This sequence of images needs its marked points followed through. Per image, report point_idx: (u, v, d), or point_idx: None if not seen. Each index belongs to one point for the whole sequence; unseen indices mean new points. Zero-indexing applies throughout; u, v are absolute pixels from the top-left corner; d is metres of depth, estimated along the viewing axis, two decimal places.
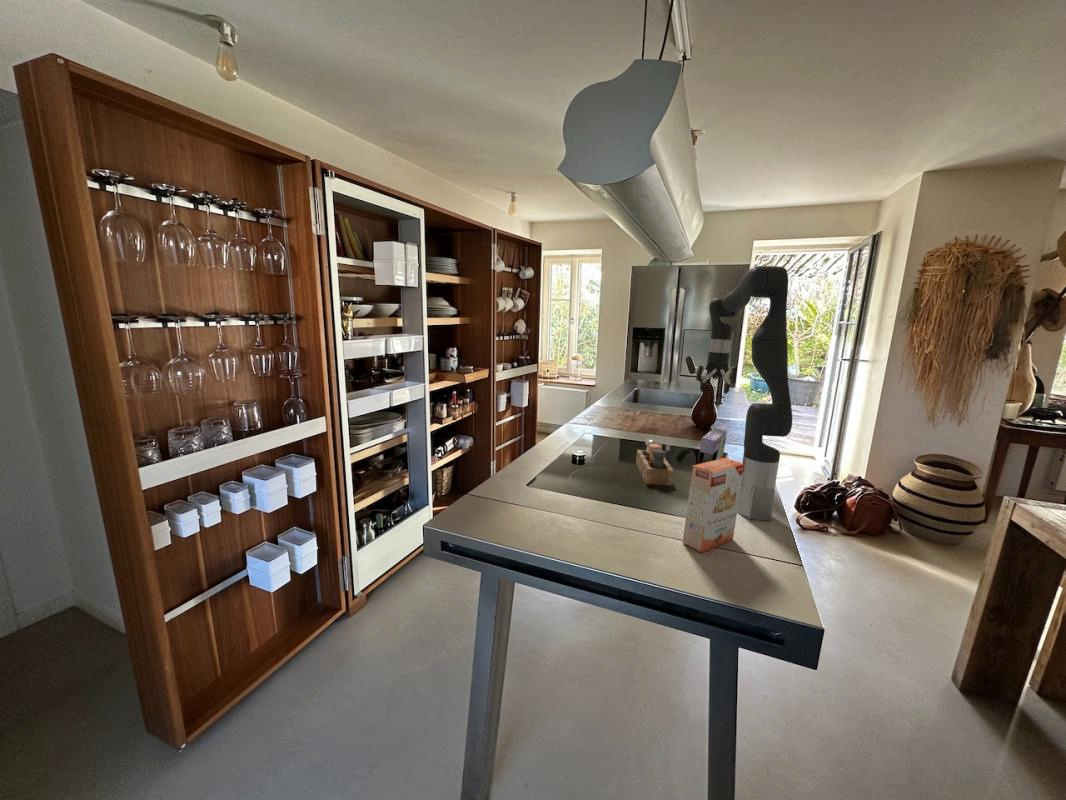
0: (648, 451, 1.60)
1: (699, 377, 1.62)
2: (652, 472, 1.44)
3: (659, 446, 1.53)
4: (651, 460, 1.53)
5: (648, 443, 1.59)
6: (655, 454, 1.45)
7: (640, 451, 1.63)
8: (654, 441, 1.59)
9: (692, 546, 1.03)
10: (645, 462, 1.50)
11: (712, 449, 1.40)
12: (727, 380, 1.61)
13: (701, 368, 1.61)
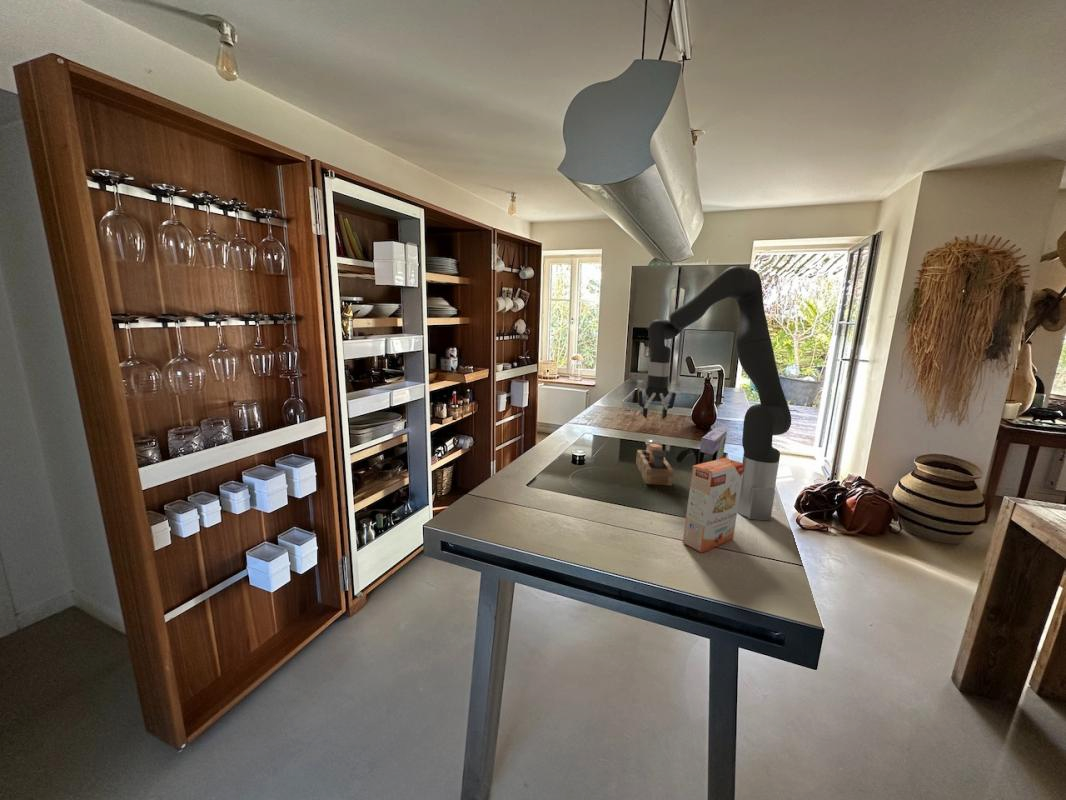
0: (648, 451, 1.60)
1: (640, 402, 1.57)
2: (652, 472, 1.44)
3: (659, 446, 1.53)
4: (651, 460, 1.53)
5: (648, 443, 1.59)
6: (655, 454, 1.45)
7: (640, 451, 1.63)
8: (654, 441, 1.59)
9: (692, 546, 1.03)
10: (645, 462, 1.50)
11: (712, 449, 1.40)
12: (665, 405, 1.56)
13: (640, 393, 1.56)
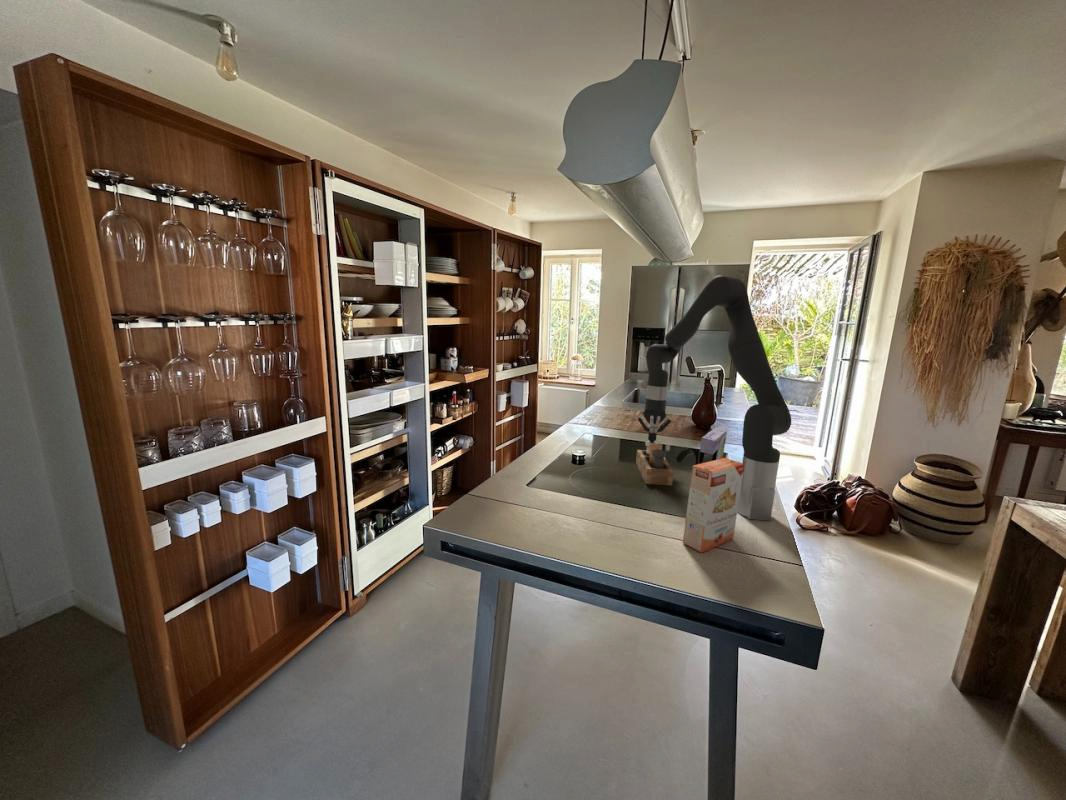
0: (648, 452, 1.60)
1: (645, 427, 1.58)
2: (652, 472, 1.44)
3: (659, 446, 1.53)
4: (651, 460, 1.53)
5: (648, 444, 1.59)
6: (655, 454, 1.45)
7: (640, 451, 1.63)
8: (654, 442, 1.59)
9: (692, 546, 1.03)
10: (645, 462, 1.50)
11: (712, 449, 1.40)
12: (656, 429, 1.58)
13: (640, 420, 1.58)
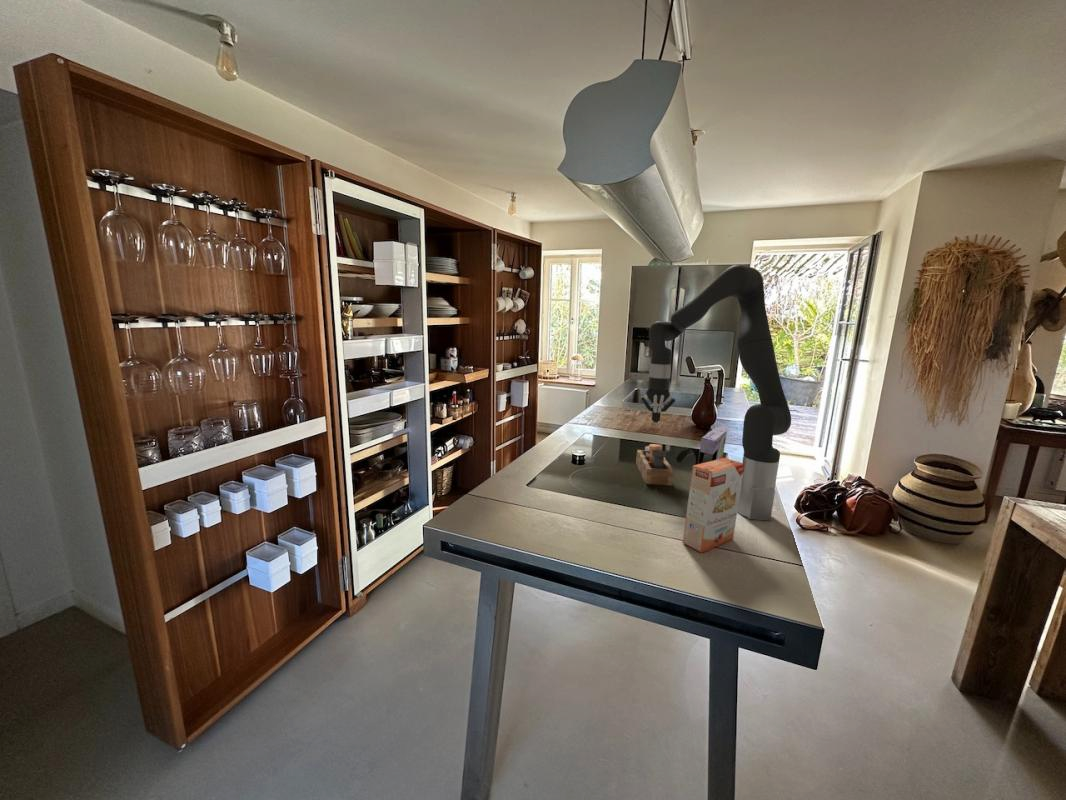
0: None
1: (648, 407, 1.55)
2: (652, 472, 1.44)
3: (659, 446, 1.53)
4: (651, 460, 1.53)
5: (647, 450, 1.59)
6: (655, 454, 1.45)
7: (640, 451, 1.63)
8: None
9: (692, 546, 1.03)
10: (645, 462, 1.50)
11: (712, 449, 1.40)
12: (659, 408, 1.55)
13: (643, 399, 1.55)
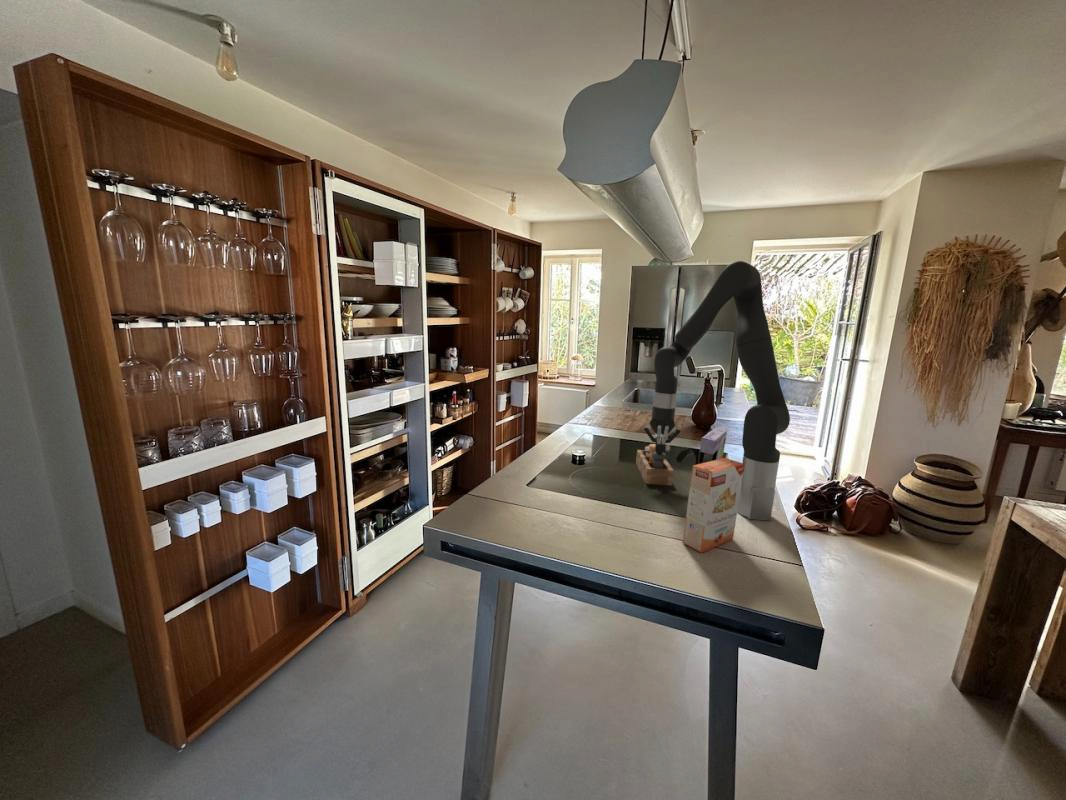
0: None
1: (652, 438, 1.45)
2: (652, 472, 1.44)
3: None
4: (651, 460, 1.53)
5: (647, 450, 1.59)
6: (655, 456, 1.45)
7: (640, 451, 1.63)
8: None
9: (692, 546, 1.03)
10: (645, 462, 1.50)
11: (712, 449, 1.40)
12: (663, 439, 1.44)
13: (646, 430, 1.44)
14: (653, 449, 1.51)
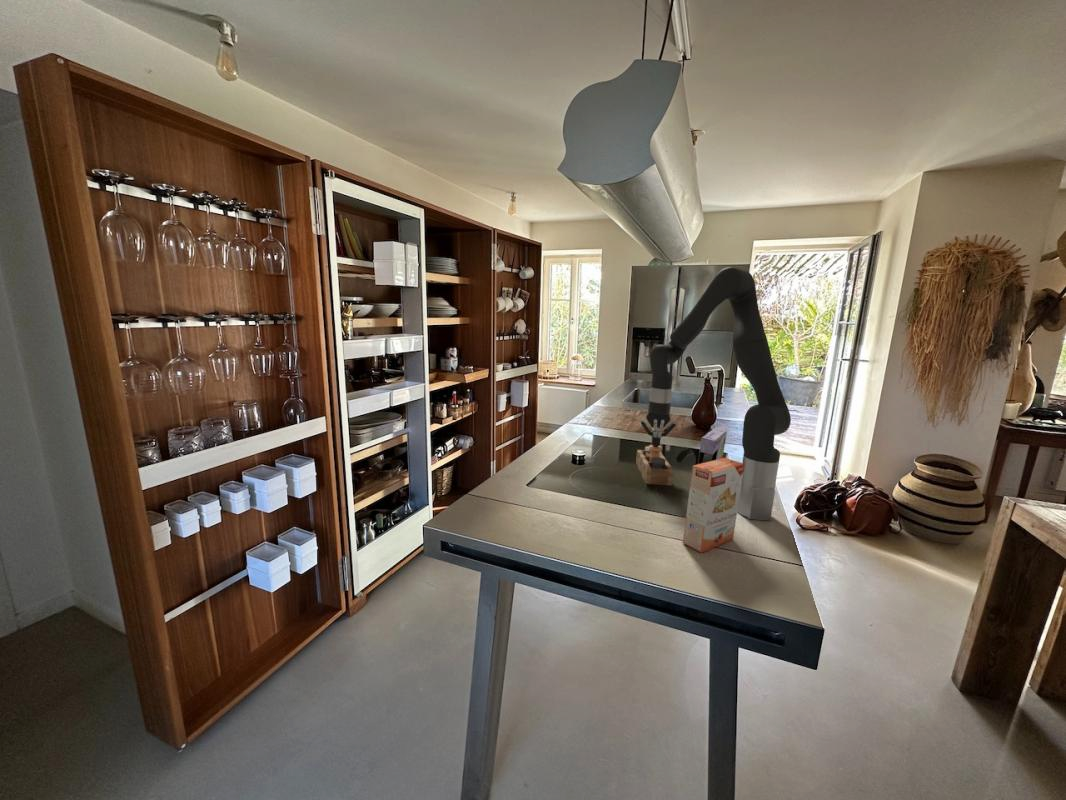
0: None
1: (648, 432, 1.51)
2: (652, 472, 1.44)
3: (659, 447, 1.53)
4: (651, 461, 1.53)
5: (647, 450, 1.59)
6: (654, 462, 1.45)
7: (640, 451, 1.63)
8: None
9: (692, 546, 1.03)
10: (645, 462, 1.50)
11: (712, 449, 1.40)
12: (659, 433, 1.51)
13: (643, 424, 1.51)
14: (653, 450, 1.51)
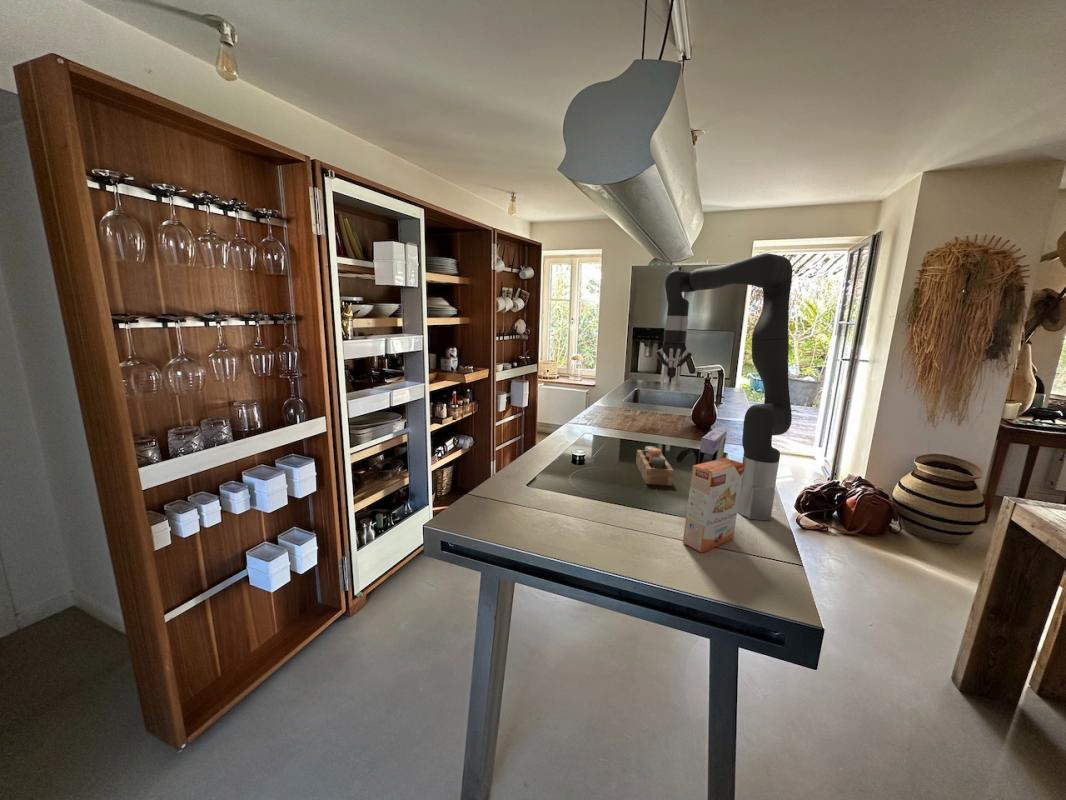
0: None
1: (664, 362, 1.49)
2: (652, 472, 1.44)
3: (659, 450, 1.53)
4: None
5: (647, 450, 1.59)
6: (654, 462, 1.45)
7: (640, 451, 1.63)
8: None
9: (692, 546, 1.03)
10: (645, 462, 1.50)
11: (712, 449, 1.40)
12: (675, 363, 1.49)
13: (659, 353, 1.49)
14: (653, 453, 1.52)
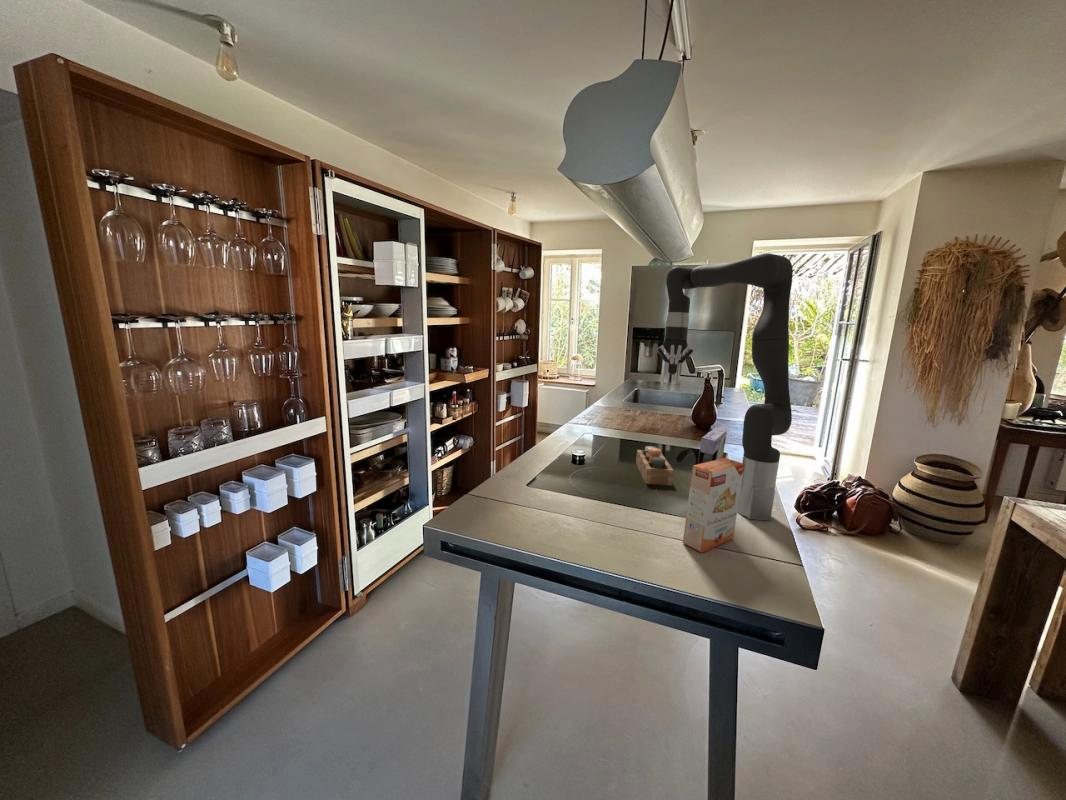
0: None
1: (665, 358, 1.49)
2: (652, 472, 1.44)
3: (659, 450, 1.53)
4: None
5: (647, 450, 1.59)
6: (654, 462, 1.45)
7: (640, 451, 1.63)
8: None
9: (692, 546, 1.03)
10: (645, 462, 1.50)
11: (712, 449, 1.40)
12: (676, 359, 1.49)
13: (660, 350, 1.49)
14: (653, 453, 1.52)
